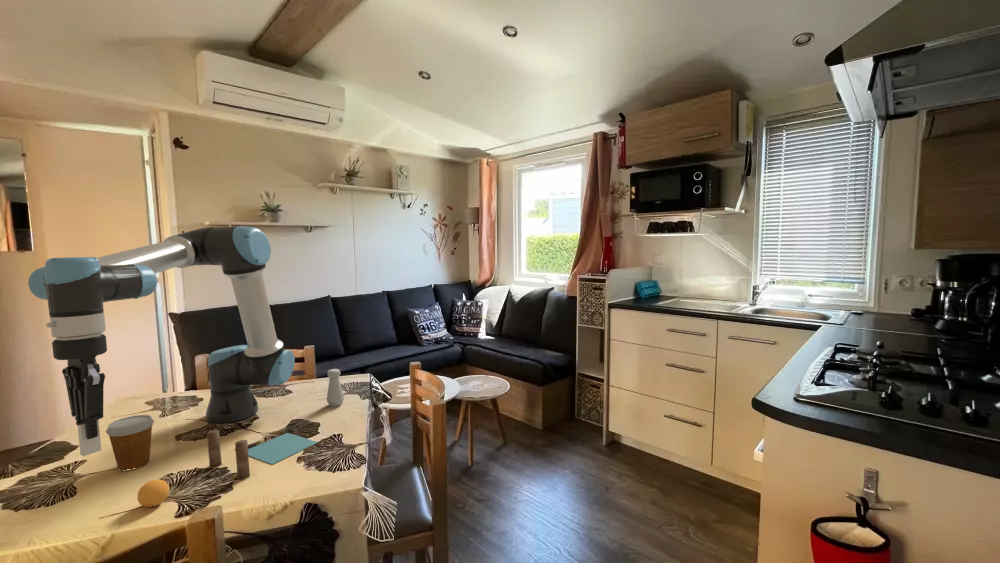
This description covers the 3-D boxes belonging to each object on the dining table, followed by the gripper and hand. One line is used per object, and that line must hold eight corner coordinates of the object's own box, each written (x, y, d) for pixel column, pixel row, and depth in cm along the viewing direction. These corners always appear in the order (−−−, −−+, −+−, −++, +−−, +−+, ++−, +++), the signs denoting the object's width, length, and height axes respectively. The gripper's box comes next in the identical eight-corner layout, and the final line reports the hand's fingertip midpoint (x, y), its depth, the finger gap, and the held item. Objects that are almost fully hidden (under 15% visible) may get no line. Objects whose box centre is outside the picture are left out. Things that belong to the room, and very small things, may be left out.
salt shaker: (346, 402, 156) (345, 367, 155) (339, 408, 150) (337, 372, 149) (331, 402, 156) (329, 367, 155) (323, 407, 151) (321, 372, 150)
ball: (133, 508, 94) (131, 484, 93) (163, 495, 98) (161, 472, 98) (145, 515, 91) (143, 490, 90) (175, 501, 96) (173, 478, 95)
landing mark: (241, 453, 118) (241, 452, 118) (287, 433, 130) (287, 432, 130) (272, 464, 111) (272, 464, 111) (318, 442, 123) (318, 442, 123)
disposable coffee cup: (129, 457, 117) (125, 415, 116) (165, 455, 118) (162, 413, 117) (99, 475, 107) (94, 429, 106) (139, 473, 108) (135, 428, 107)
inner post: (207, 466, 111) (205, 433, 110) (218, 461, 113) (215, 429, 113) (213, 468, 110) (210, 435, 109) (223, 464, 112) (221, 431, 111)
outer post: (235, 478, 105) (232, 443, 104) (245, 473, 107) (243, 438, 107) (241, 481, 104) (238, 445, 103) (252, 475, 106) (249, 441, 105)
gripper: (40, 336, 83) (52, 453, 85) (65, 343, 77) (78, 469, 78) (91, 329, 89) (101, 438, 91) (118, 335, 83) (129, 451, 85)
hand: (91, 452), depth 85 cm, fingers closed
